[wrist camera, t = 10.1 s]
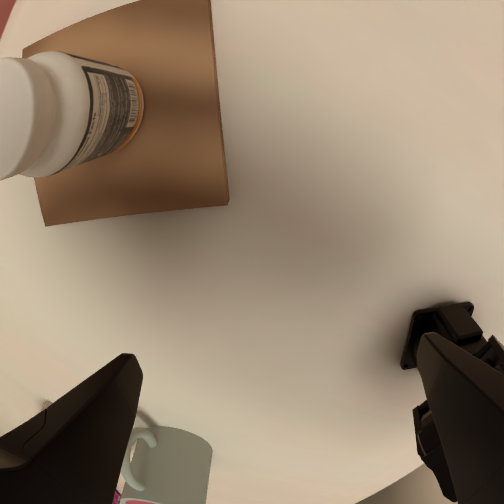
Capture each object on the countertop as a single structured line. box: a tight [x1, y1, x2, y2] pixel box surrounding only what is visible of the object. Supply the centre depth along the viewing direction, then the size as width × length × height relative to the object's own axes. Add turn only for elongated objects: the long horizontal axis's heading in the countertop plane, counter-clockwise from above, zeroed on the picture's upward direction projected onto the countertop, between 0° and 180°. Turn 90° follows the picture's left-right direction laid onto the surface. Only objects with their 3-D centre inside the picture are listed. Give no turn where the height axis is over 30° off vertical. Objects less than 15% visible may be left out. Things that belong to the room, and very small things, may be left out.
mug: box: [120, 426, 212, 504], centre depth 27 cm, size 14×9×10 cm
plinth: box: [22, 0, 229, 227], centre depth 17 cm, size 14×14×1 cm
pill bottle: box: [0, 51, 144, 180], centre depth 12 cm, size 6×6×10 cm
